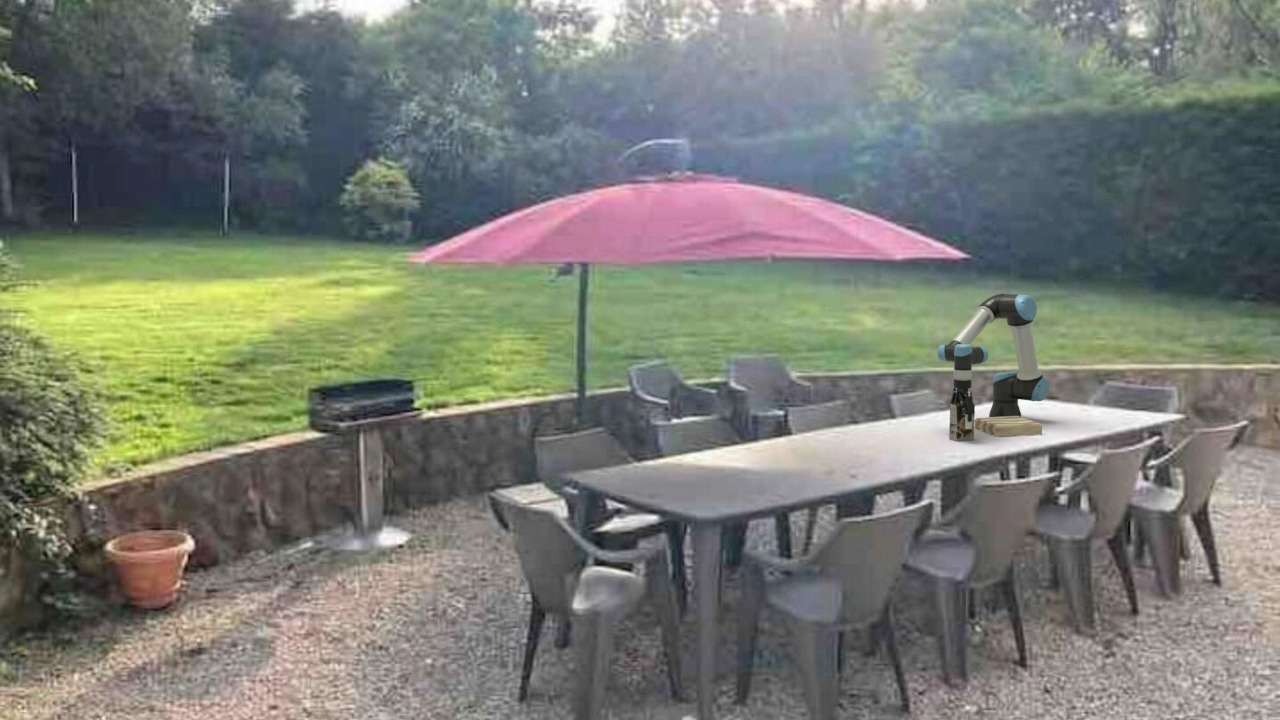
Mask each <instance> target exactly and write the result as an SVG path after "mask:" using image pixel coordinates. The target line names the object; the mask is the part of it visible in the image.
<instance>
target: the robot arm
mask: <svg viewBox="0 0 1280 720" xmlns="http://www.w3.org/2000/svg"><path fill="white" fill-rule="evenodd" d="M1037 312H1038V307H1037V303H1036V300H1035V299H1034V297H1032V296H1031V295H1027V294H1022V293H1020V294H1014V293H1012V294H1010V293H997V294H995V295H992V296H990V297H988V298H987V299H985V300H983V301H982V302H981V303H980V305H978V306H977V307H976V309H975V311H974V314H973V316H971V317H970V319H969V320H968V321H967V322H966V323H965V325H964V326H963V327H962V328H961V329H960V330H959V331H958V332H957V334H956V335H955V336H954V337H953V338H952V340H951V341H950V342H949V343H948V344H941V345H939V347H938V348H937V357H938V359H939V360H940V361H942V362H950V363H951V362H952V363H953V364H954V366H953V372H952V373H953V378H954V379H953V389H952V390H953V391H952V394H951V395H952V396H951V397H950V402H949V405H950V404H956V403H963V404H964V407H965V410H966V413H965V429H972V414H974V413H976V411H975V410H974V405H973V404H974V400H973V393H972V391H969V389H971V388H972V377H973V376H972V374H973V373H972V371H973V369H972V366H973V365H978V364H979V365H980V364H983V363H985V362H987V360H988V359H989V351H988V350H987V348H986V347H984V346H973V345H971V344H972V343H973V342H974V340H975V339H976V338H977V337H978V336H979V335H980V334H981V332H982V331H983V330H984V329H985V328H986V327H987V326H988V325H989V324H991V323H993V322H994V321H995V320H998V319H1002V320H1006V323H1007V325H1008V327H1010V328H1011V331H1012V333H1011V334H1012V337H1013V342H1014V348H1015V354H1016V355H1015V356H1016V360H1017V366H1018V371H1005V372H1004V371H1003V372H997V373H995V374H994V375H993V381H992V404H991V408H990V411H989V414H988V417H1006V416H1020V417H1022V412H1021V409H1020V406H1019V400H1021V401H1030V402H1042V401H1043V400H1045V398H1046V397H1047V396H1048V393H1049V390H1050V381H1049V379H1048V378H1047V377H1044V375H1043V371H1042V370H1040V369H1039V365H1038V361H1037V354H1036V348H1035V344H1034V338H1033V337H1034V336H1033V330H1032V325H1031V324H1032V323H1033V322H1034V319H1035V318H1036V316H1037Z"/></svg>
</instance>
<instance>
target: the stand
mask: <svg viewBox="0 0 1280 720" xmlns="http://www.w3.org/2000/svg"><path fill="white" fill-rule="evenodd" d="M977 429H978V431H980V430H981V432H982V433H985V432H986V433H985V434H988V433H989V434H988V435H990V434H991V435H990V436H993V435H994V436H993V437H995V436H996V438H999V437H998V436H1006V437H1015V436H1014V435H1025V436H1035V435H1034V434H1042V435H1043V425H1041V423H1040V422H1037V421H1034V420H1031V419H1028V418H1025V417H1022V416H1021V417H1020V416H1006V417H989V416H987V417H975V418H974V430H977Z"/></svg>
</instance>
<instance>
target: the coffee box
mask: <svg viewBox="0 0 1280 720" xmlns="http://www.w3.org/2000/svg"><path fill="white" fill-rule="evenodd" d="M973 405H974V410H975V409H976V408H975V407H976V404H975V403H973ZM965 413H966V410H965V407H964V404H963V402H960V403H956V404H950V403H949V430H948V431H949V433H948V435H949V436H948V437H949V440H953V441H956V442H962V441H963V442H964V440H965V441H973V440H975V413H976V412H975V413H974V414H972V429H965Z"/></svg>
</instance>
